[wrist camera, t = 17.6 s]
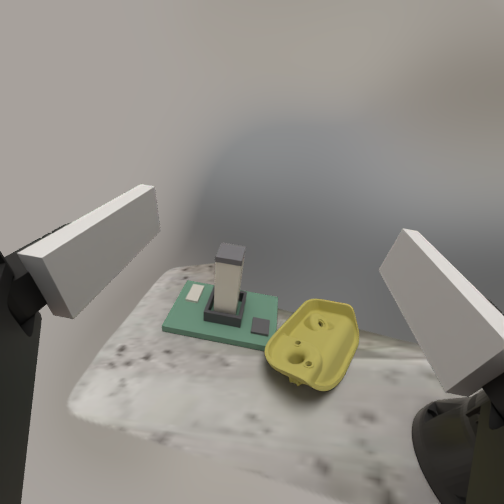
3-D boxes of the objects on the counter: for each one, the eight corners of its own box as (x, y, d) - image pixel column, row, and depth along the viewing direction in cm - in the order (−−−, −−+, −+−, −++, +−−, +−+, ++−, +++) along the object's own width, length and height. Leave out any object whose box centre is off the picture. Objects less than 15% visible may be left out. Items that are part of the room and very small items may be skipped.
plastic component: (309, 297, 48) (359, 305, 41) (313, 326, 50) (361, 339, 43) (251, 356, 34) (313, 384, 27) (260, 394, 36) (319, 429, 29)
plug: (238, 304, 45) (245, 246, 37) (234, 320, 41) (242, 261, 33) (218, 300, 45) (221, 242, 37) (213, 316, 41) (215, 256, 34)
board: (276, 301, 49) (280, 288, 46) (273, 352, 39) (278, 339, 36) (187, 285, 49) (186, 271, 47) (162, 331, 39) (160, 316, 37)
